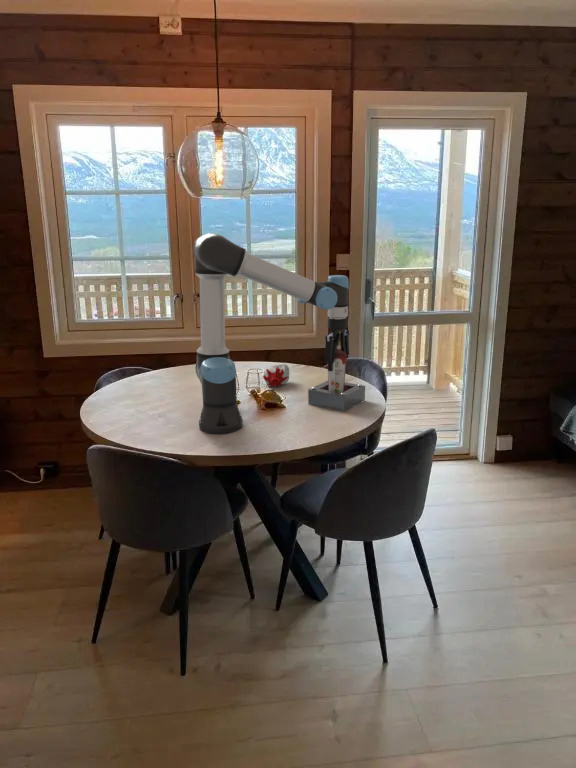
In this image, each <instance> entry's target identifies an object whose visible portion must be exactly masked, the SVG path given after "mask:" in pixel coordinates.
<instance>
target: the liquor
mask: <svg viewBox="0 0 576 768" xmlns="http://www.w3.org/2000/svg"><path fill="white" fill-rule="evenodd" d="M339 334H341V331H339ZM334 343H335V342H334ZM346 356H348V355H347V354H346V353H345V352H343V351H341V342H340V341H339V345H337V349H336V354H335V359H334V362H335V379H334V380H333V379H328V378H327V381H328V390H329V391H334V392H339V393H342V392H344V383H345V382H346V380H345V379H346V378H345V377H346V370H347V358H346Z"/></svg>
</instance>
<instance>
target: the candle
mask: <svg viewBox="0 0 576 768" xmlns="http://www.w3.org/2000/svg"><path fill="white" fill-rule="evenodd" d="M262 378H263V381H265V383H266V385H267V386H269V387H277V388H278V387H280V386H282V385H283V386H286V385H287V383H288V382H289V380H290V367H289V366H288V365H287V364H285V363H281V364H272V365H270V366H269V367H267V368H265V369H264V371H263V375H262Z"/></svg>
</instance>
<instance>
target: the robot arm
mask: <svg viewBox="0 0 576 768" xmlns="http://www.w3.org/2000/svg"><path fill="white" fill-rule="evenodd" d="M192 254H193V257H194V273H195V275H196V276H197V277H198V278H199V308H200V309H199V313H200V314H199V317H200V323H199V324H200V346H199V347H198V348H197V349H196V363H195V368H194V369H195V373H196V376H197V378H198V379H199V382H200V384H201V391H202V393H201V394H202V395H201V396H202V409H201V413H200V416H199V417H200V418H199V420H198V426H199V427H198V428H199V430H200V431H202V432H203V433H206V434H212V435H213V434H215V435H223V434H230V433H234V432H237V431H240V430H241V429H242V428H243V426H244V424H243V423H244V422H243V420H244V419H243V417H242V416H241V413H240V410H239V407H238V401H237V399H238V398H237V396H238V395H237V368H236V364H235V362H234V361H233V360H232V359H230V349H229V348H228V347H227V346H226V322H225V321H226V314H225V313H226V312H225V311H226V309H225V307H226V303H225V301H226V300H225V299H226V297H225V296H226V293H225V292H226V291H225V285H226V284H225V283H226V282H225V279H226V277H228V276H229V275H230V276H232V277H238V276H240V277H243V278H246V279H247V280H250V281H253V282H256V283H258V284H260V285H263V286H265V287H268V288H270V289H273V290H274V291H275V290H276V291H278V292H281V293H283V294H285V295H288V296H290V297H292V298H295V299H296V301H297V302H298V303H299V304H305V305H306V304H310V305H313V306H314V307H317V308H319V309H321V310H326V311H327V317H328V318H327V328H328V329H330V332H329V334H328V335H327V334H326V335H325V337H324V338H325V347H324V362H325V363H327V380H328V379H333V380H334V379H335V362H334V359H335V354H336V349H337V345H339V341H340V342H341V351H343V352H345V353H346V354H347V356H346V359H348V358H349V355H350V343H349V342H350V341H349V340H350V339H349V335H350V331H349V330H347V328H348V327H349V325H348V324H349V319H348V316H349V315H348V314H349V291H350V288H349V287H350V286H349V277H348V275H347V276H346V275H342V274H335V275H334V274H333V275H329V276H327V277H328V278H327V281H314V280H312V279H310V278H307V277H304V276H303V275H300V274H298V273H295V272H293V271H290V270H288V269H287V268H283V267H282V266H279V265H276V264H274V263H271V262H269V261H267V260H265V259H262V258H260V257H258V256H256V255H252V254H250V253H248V251H247V249H246V248H244V247H242V246H240V245H238V244H236V243H234V242H233V241H230V240H229V239H227V238H226V237H224V236H223V235H220V234H217V233H213V232H207V233H204V234H202V235H200V236H199V237H198V238H197V239H196V240H195V241H194V244H193V247H192ZM339 331H341V334H339ZM334 342H335V343H334Z"/></svg>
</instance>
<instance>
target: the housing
mask: <svg viewBox="0 0 576 768" xmlns="http://www.w3.org/2000/svg"><path fill="white" fill-rule="evenodd" d="M307 392H308V393H307V396H308V397H307V398H308V400H307V401H308V402H307V403H308V405H310V406H314V407H315V406H316V407H320V408H325V409H330V410H333V411H334V410H335V411H339V412H343V411H345V412H347V411H348V410H351V408H353V406H354V407H356V406H357V405H359V404H361V403H363V402H365V401H366V385H364V384H361V383H357V384H356V383H352V382H346V381H345V383H344V392H342V393H339V392H334V391H329V390H328V380H327V381H324V382H322V383H321V382H320V383H318V384H317V385H314V386H312V387H310V388H308V390H307ZM364 400H365V401H364ZM362 401H363V402H362ZM355 405H356V406H355Z"/></svg>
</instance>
